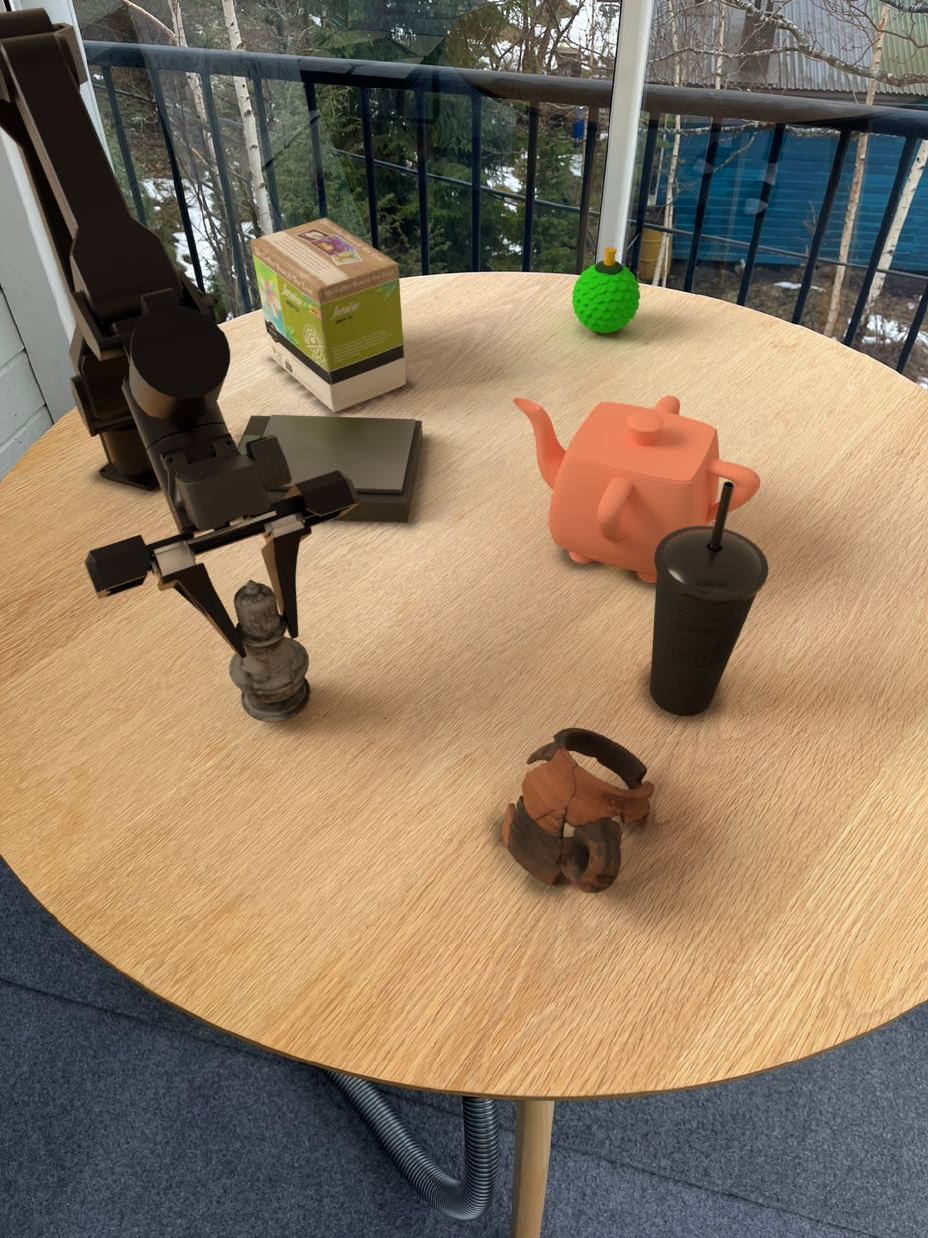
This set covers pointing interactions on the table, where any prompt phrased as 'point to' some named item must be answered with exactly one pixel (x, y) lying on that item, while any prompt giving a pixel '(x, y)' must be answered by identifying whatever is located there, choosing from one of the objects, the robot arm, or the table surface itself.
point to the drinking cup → (700, 609)
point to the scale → (370, 505)
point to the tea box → (331, 312)
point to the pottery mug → (576, 811)
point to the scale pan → (346, 449)
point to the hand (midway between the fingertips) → (269, 647)
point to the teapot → (632, 480)
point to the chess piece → (268, 658)
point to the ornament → (606, 295)
